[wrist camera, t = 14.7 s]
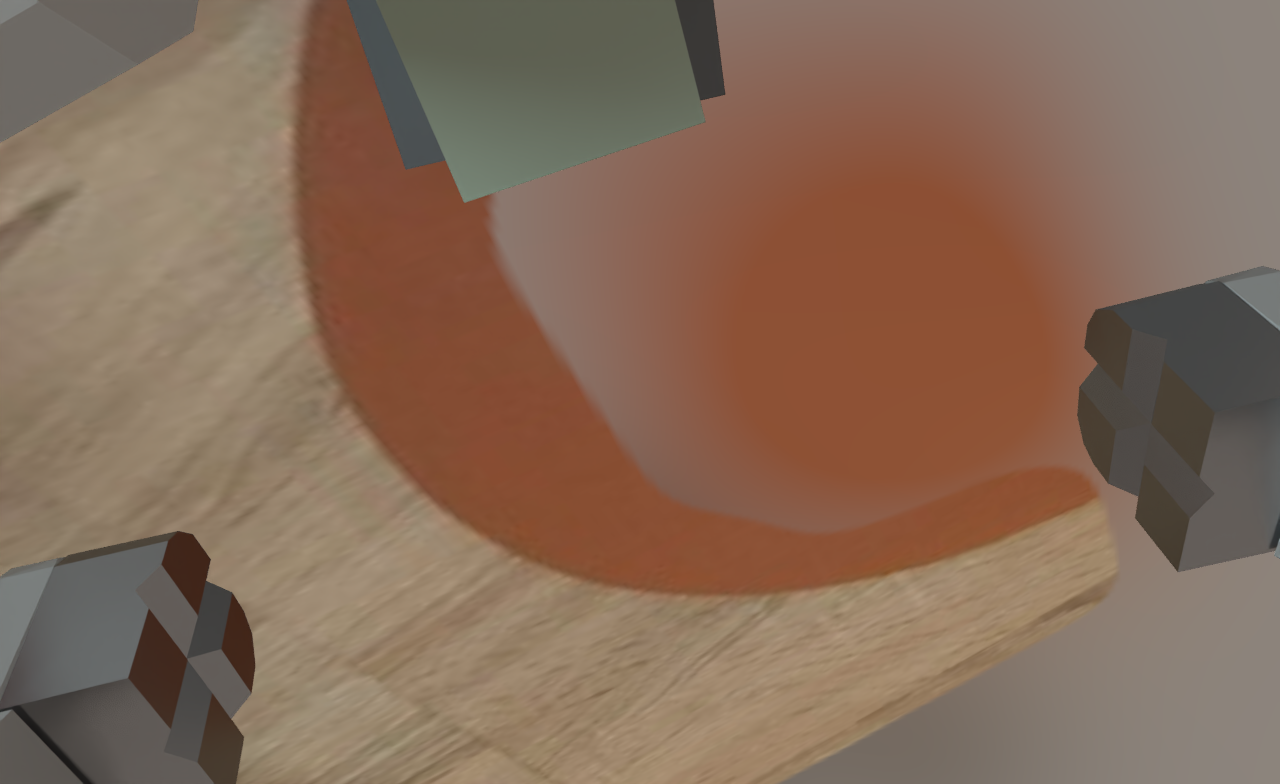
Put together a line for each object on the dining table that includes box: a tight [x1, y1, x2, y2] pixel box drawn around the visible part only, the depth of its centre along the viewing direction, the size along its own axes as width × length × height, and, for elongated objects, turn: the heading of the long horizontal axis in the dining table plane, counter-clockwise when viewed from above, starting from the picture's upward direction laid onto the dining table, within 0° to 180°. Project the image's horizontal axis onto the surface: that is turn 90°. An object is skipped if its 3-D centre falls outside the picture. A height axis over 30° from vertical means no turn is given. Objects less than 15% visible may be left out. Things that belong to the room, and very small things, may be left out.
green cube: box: [376, 0, 705, 203], centre depth 20 cm, size 5×5×5 cm
